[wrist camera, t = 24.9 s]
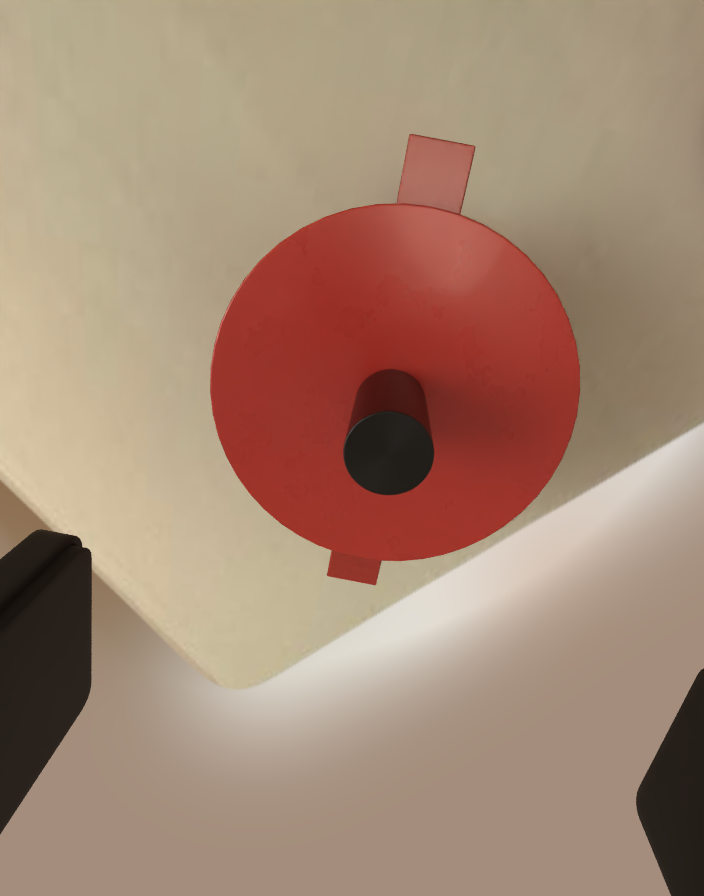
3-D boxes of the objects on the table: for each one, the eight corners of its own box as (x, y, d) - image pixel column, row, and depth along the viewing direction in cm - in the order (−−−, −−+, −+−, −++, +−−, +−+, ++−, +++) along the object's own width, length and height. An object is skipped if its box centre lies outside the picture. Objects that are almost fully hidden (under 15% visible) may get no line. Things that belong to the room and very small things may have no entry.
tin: (257, 475, 36) (207, 562, 26) (298, 142, 29) (250, 100, 19) (467, 516, 36) (492, 617, 26) (560, 191, 29) (639, 172, 19)
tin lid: (205, 514, 26) (145, 603, 20) (235, 171, 21) (166, 145, 15) (514, 573, 26) (550, 681, 20) (624, 244, 21) (722, 250, 14)
